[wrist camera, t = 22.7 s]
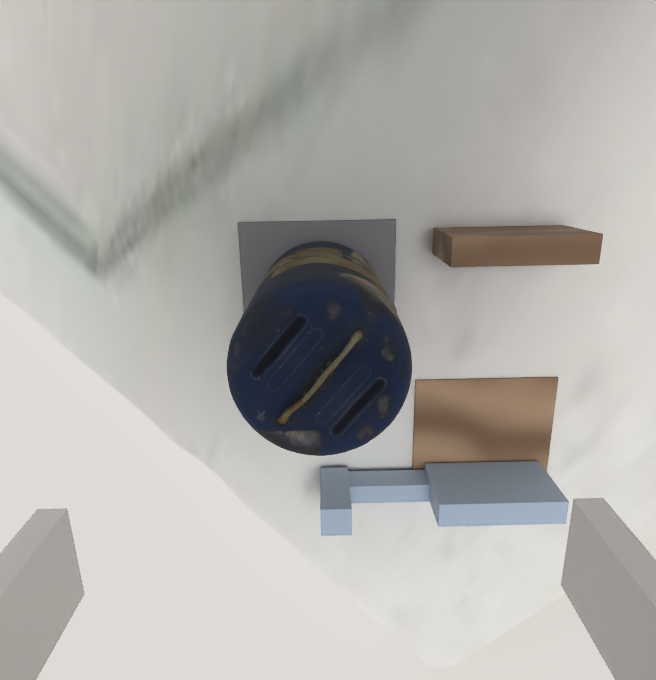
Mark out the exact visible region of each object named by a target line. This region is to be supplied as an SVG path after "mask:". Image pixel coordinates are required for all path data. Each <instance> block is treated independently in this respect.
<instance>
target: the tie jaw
mask: <svg viewBox="0 0 656 680" xmlns="http://www.w3.org/2000/svg"><path fill="white" fill-rule="evenodd" d="M422 501H430V503H431V506H432V509H433V512H434V515H435V518H436V521H437V524H438V527H444V526H487V525H530V524H566V519H567V512H568V505H569V501H568V500H567V499H566V497H565V496H564V495H563V493H562V492H561V491H560V489H559V488H558V487H557V485H556V484H555V483H554V481H553V480H552V479H551V477H550V476H549V475H548V473H547V472H546V471H545V469H544V468H543V467H542V465H541V464H540V463H539V461H517V462H472V463H428V464H425V470H383V471H348V467H339V468H321V506H320V510H321V536H335V535H352V508H351V503H378V502H422Z"/></svg>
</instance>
